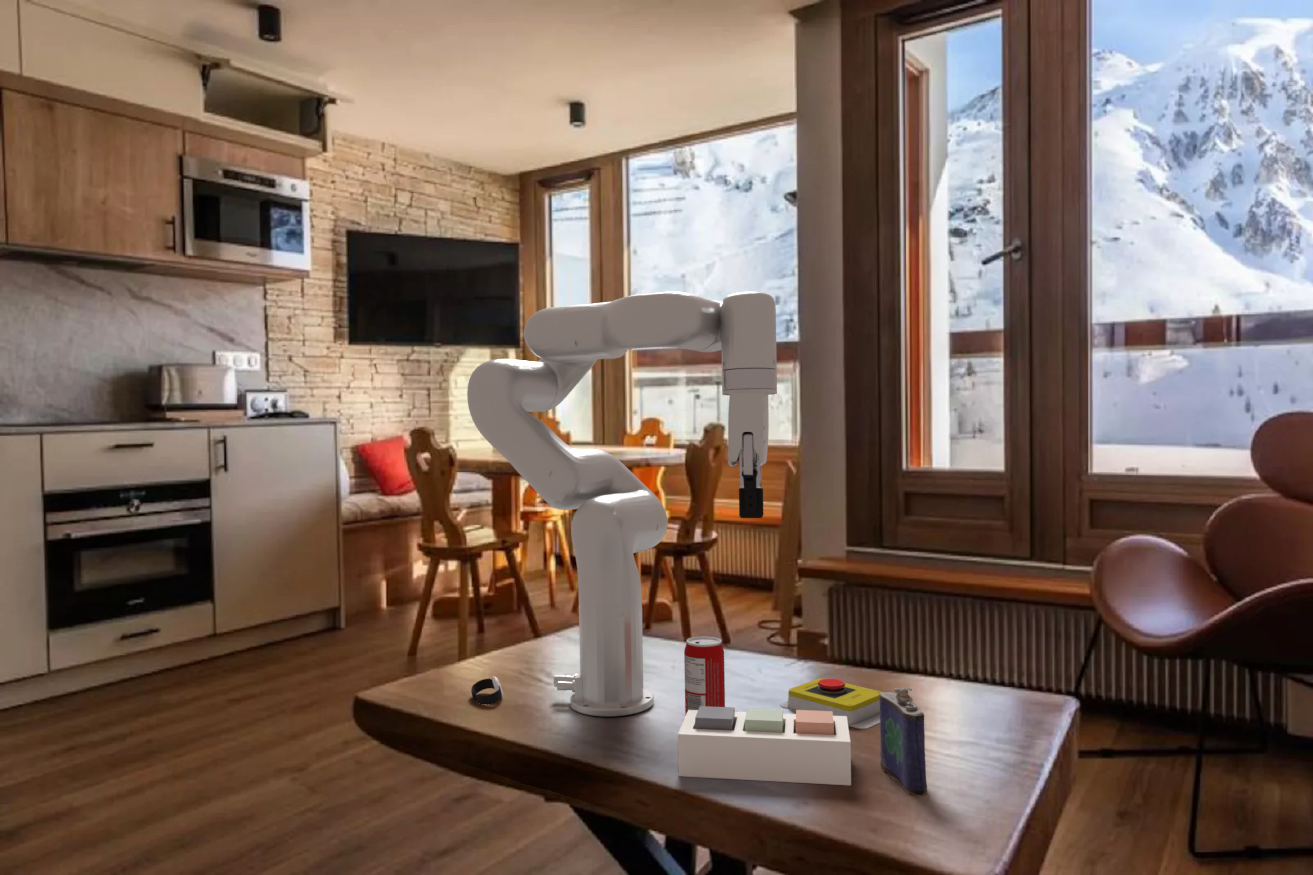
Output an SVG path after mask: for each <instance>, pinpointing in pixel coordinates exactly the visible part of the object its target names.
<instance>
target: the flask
mask: <svg viewBox="0 0 1313 875" xmlns="http://www.w3.org/2000/svg"><path fill="white" fill-rule="evenodd" d="M909 691H911V692H912V691H913V688H912V687H906V688H904V687H900V688H897V687H894V692H895V693H894V692H892V691H891V692H889V691H888V692H883V693H881V694H879V702H880V723H879V724H880V727H879V729H880V731H879V732H880V740H879V741H880V752H879V754H880V761H879V762H880V763H879V764H880V767H881V769H882V771H883V772H886V773H887V774H888V775H889V777H890V778H891V779H892V780H894V781H895V782H898V783H897V784H898V785H899V786H900V785H901V786H902V789H904V791H905V792H906V793H907V794H910V795H913V796H915V797H916V796H924V795H927V793H928V785H927V771H926V770H927V769H926V766H927V764H926V750H925V749H926V745H925V744H926V742H925V740H926V739H925V736H926V734H925V714H924V712H923V711H922V710H921V708H920V707H919V706H918V705H917V704H915V703H914V702H913V698H912V696H910V694H909Z"/></svg>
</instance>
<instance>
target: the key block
mask: <svg viewBox="0 0 1313 875" xmlns="http://www.w3.org/2000/svg"><path fill="white" fill-rule="evenodd" d="M697 712H698V710H688V712H687V714H686V716H685V717H684V718H683V721H682V724H681V726H680V727H679V730H678V732H677V757H678V760H677V764H678V768H677V769H678V777H689V778H703V779H705V778H706V779H724V780H725V779H726V780H727V779H729V780H743V781H744V780H745V781H746V780H747V781H761V782H779V783H781V782H782V783H796V784H797V783H801V784H818V785H819V784H820V785H835V786H852V763H851V762H852V761H851V760H852V759H851V754H852V753H851V748H852V747H851V736H850V730H849V726H848V721H847V716H833V723H834V735H821V734H798V733H796V713H783V733H776V732H753V731H745V717H746V713H747V711H735V729H734V731H730V730H708V729H695V717H696V714H697Z"/></svg>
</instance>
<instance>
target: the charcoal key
mask: <svg viewBox="0 0 1313 875" xmlns="http://www.w3.org/2000/svg"><path fill="white" fill-rule="evenodd" d="M735 710H736V708H735V707H733V706H732V707H729V706H728V707H727V706H725V707H708V706H700V707H699V709H698V712H697V714H696V717H695V729H708V730H730V731H734V729H735V712H736V711H735Z"/></svg>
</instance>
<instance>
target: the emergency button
mask: <svg viewBox="0 0 1313 875" xmlns="http://www.w3.org/2000/svg"><path fill="white" fill-rule="evenodd" d="M881 693H884V692H883V691H880V690H876V689H871V688H869V687H868V688H867V687H864V686H863V687H862V686H860V685H859V686H858V685H855V684H851V683H847V682H844V680H841V679H839V678H838V679H837V678H827V677H825V678H823V677H820V678H816V679H814V680H811V681H808V682H805V683H803V684H799V685H797V686H794V687H791V688H789V689H788V698H787V701H784V702H782V703H780V704H779V706H780V707H781V708H784V709H787V710H791V711H794V712H796V710H812V711H832V712H833V716H847V721H848V727H852V728H855V729H860V730H867V729H870V728H872V727H875V726H878V725H879V724H880V702H879V694H881Z"/></svg>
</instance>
